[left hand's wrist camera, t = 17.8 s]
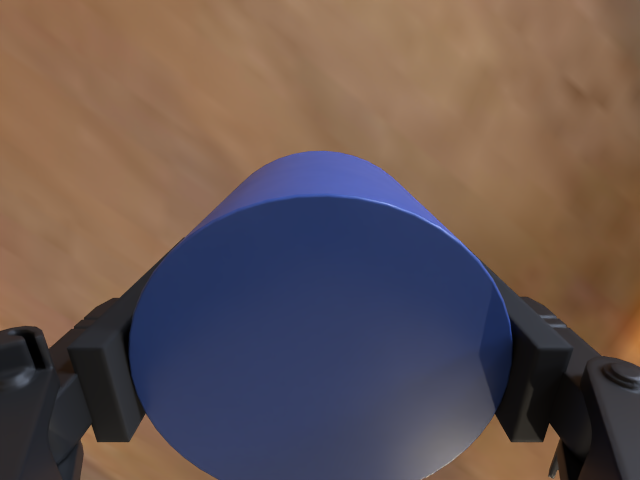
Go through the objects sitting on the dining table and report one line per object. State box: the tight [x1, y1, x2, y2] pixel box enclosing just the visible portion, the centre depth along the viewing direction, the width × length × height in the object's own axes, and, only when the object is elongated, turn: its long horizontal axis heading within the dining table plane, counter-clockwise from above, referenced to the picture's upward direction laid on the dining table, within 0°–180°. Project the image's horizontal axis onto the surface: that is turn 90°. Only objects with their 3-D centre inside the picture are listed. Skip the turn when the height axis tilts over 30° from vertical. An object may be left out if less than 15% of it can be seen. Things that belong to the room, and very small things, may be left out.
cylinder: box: [128, 151, 513, 480], centre depth 11 cm, size 9×9×7 cm
